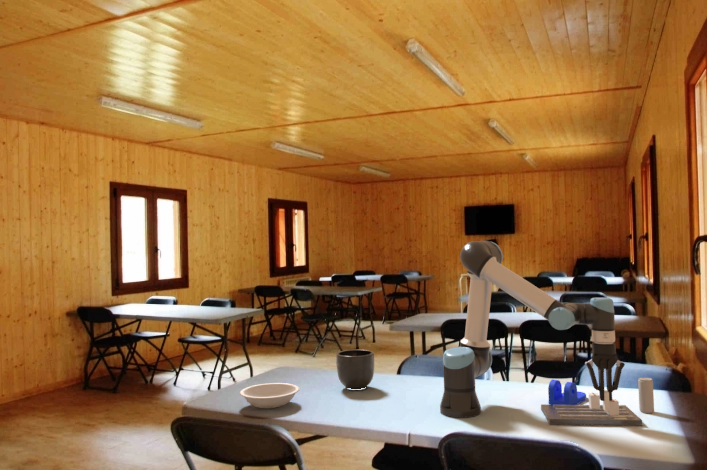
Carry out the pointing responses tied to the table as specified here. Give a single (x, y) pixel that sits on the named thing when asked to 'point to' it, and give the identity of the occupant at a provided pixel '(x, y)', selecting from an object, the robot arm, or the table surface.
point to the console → (589, 416)
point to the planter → (355, 368)
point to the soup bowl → (269, 394)
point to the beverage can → (646, 395)
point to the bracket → (564, 394)
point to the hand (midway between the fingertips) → (606, 409)
